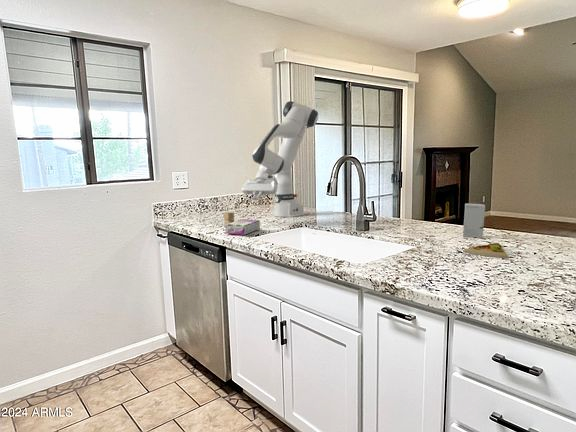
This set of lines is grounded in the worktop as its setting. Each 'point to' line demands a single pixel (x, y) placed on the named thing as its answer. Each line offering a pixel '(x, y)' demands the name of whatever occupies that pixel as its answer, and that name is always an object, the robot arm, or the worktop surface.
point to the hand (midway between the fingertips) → (255, 199)
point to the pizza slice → (488, 251)
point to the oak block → (228, 217)
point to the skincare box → (474, 220)
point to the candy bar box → (242, 226)
